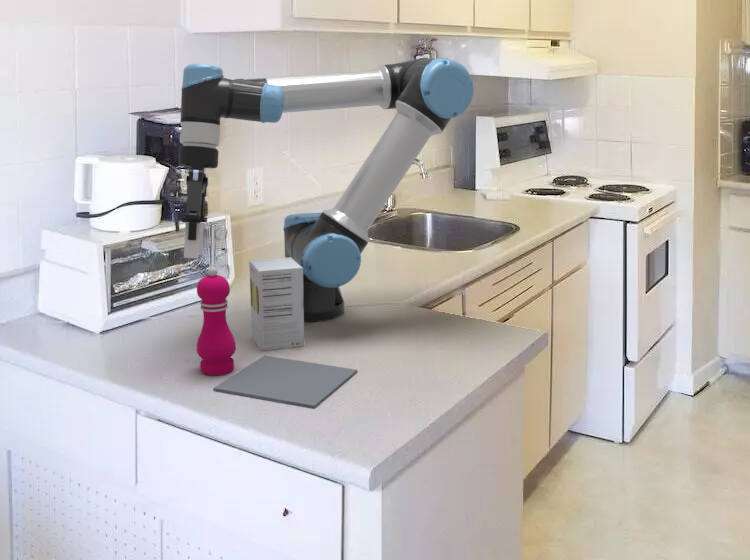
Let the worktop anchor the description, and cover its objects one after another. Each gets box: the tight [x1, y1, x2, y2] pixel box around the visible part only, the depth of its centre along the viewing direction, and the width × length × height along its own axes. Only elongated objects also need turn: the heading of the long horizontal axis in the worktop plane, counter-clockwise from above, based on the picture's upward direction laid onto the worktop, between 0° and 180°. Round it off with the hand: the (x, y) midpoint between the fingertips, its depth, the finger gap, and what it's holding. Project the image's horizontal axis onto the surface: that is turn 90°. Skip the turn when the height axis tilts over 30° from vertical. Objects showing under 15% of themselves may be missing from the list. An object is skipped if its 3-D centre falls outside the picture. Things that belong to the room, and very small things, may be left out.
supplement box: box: [248, 257, 305, 352], centre depth 173 cm, size 10×9×17 cm
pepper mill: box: [196, 266, 237, 376], centre depth 157 cm, size 7×7×20 cm
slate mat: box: [213, 355, 358, 409], centre depth 155 cm, size 20×18×1 cm
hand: (193, 256), depth 165 cm, fingers open, 13 cm apart
